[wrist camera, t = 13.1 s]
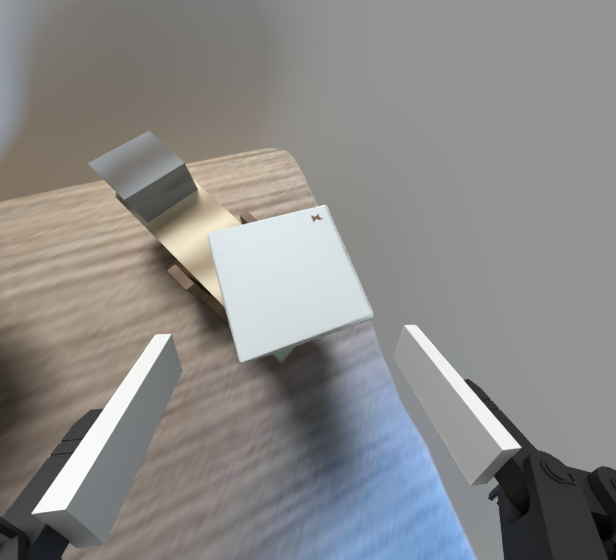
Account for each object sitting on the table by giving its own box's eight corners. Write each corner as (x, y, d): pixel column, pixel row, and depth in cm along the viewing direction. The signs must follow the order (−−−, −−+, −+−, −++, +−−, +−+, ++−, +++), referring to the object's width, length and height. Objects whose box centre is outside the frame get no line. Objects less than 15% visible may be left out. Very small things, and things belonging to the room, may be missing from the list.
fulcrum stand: (172, 267, 31) (139, 242, 24) (232, 221, 35) (220, 186, 27) (230, 326, 30) (215, 320, 22) (287, 273, 33) (290, 251, 26)
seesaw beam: (120, 201, 27) (82, 165, 22) (175, 167, 30) (153, 128, 25) (281, 363, 24) (281, 366, 18) (329, 310, 26) (341, 299, 21)
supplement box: (242, 290, 24) (202, 227, 12) (307, 272, 25) (330, 199, 13) (261, 359, 22) (235, 367, 10) (330, 334, 23) (380, 316, 11)
